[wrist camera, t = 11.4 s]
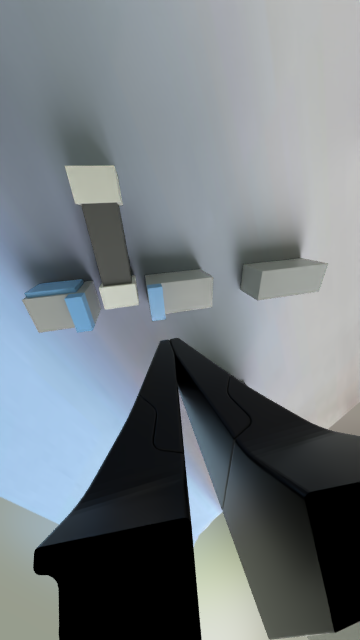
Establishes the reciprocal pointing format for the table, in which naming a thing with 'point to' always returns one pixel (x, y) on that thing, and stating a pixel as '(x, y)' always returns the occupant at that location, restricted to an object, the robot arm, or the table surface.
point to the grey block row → (168, 292)
